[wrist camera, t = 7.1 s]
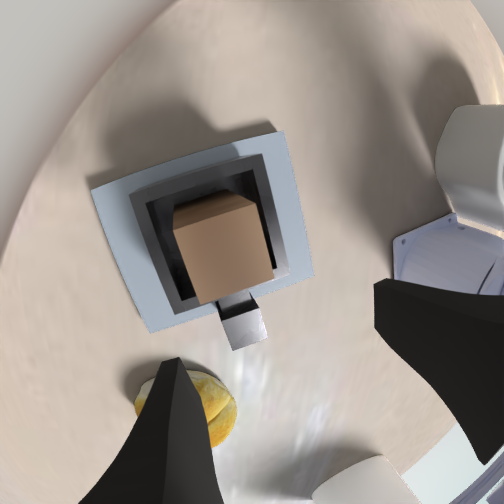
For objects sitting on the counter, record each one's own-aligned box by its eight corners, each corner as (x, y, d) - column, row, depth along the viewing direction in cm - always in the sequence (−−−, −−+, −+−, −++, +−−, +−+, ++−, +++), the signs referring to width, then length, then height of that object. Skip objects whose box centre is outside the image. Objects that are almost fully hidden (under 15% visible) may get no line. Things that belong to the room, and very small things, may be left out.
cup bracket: (242, 155, 16) (265, 152, 12) (276, 290, 19) (303, 323, 15) (139, 187, 15) (126, 196, 11) (189, 320, 18) (195, 362, 14)
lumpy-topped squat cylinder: (425, 162, 21) (506, 174, 13) (464, 83, 20) (527, 80, 12) (463, 229, 25) (524, 252, 17) (497, 150, 24) (550, 159, 16)
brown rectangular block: (226, 188, 15) (255, 203, 10) (240, 238, 17) (274, 278, 11) (173, 205, 15) (172, 230, 9) (190, 255, 16) (200, 304, 11)
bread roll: (168, 439, 23) (171, 470, 19) (122, 381, 20) (117, 417, 16) (245, 418, 24) (256, 448, 21) (214, 355, 21) (224, 389, 17)
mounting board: (278, 132, 17) (283, 130, 16) (308, 270, 21) (314, 275, 20) (94, 188, 15) (90, 190, 14) (150, 326, 19) (149, 333, 18)
